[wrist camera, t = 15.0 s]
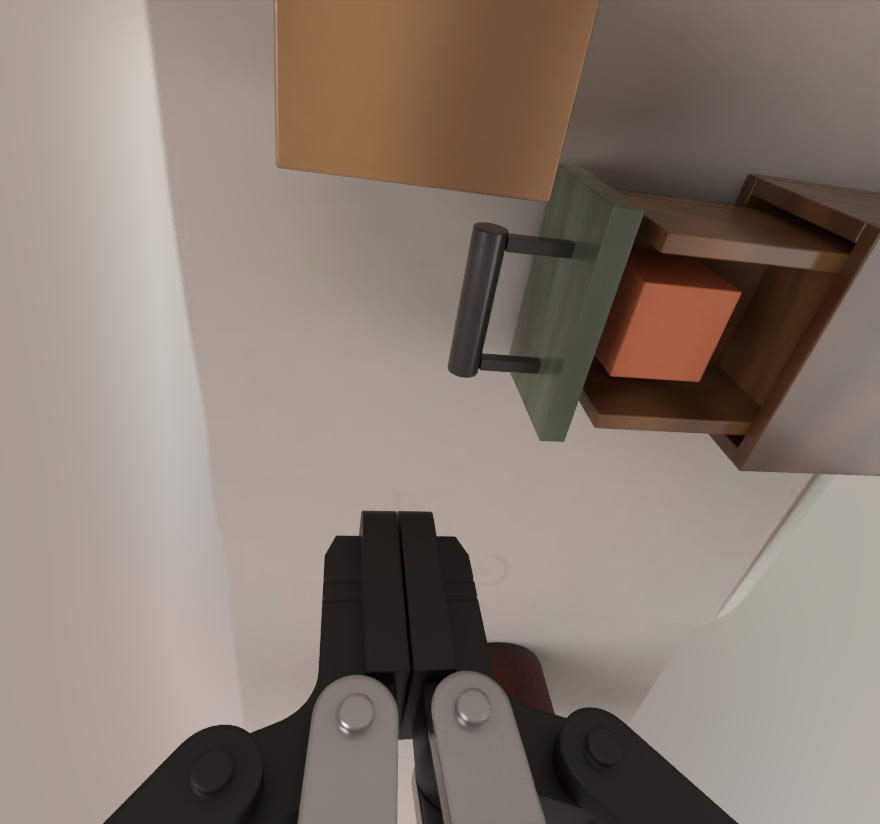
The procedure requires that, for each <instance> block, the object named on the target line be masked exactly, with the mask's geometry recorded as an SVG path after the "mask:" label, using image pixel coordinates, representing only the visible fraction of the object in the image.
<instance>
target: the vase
mask: <svg viewBox="0 0 880 824" xmlns="http://www.w3.org/2000/svg"><path fill="white" fill-rule="evenodd" d="M487 645H488V650H489V654H490V659H491V664H492V667H493V671H494V673H495V675H496V678H497V679H498V681H499V683H500V684H501V686H502V687H503V688H504V689H505V690H506V692H508V693H509V694H510V695H511V696H512V697H513V698H515V699H516V700H517V701H519V702H521V703H522V704H524V705H526V706H529V707H532V708H534V709H538V710H541V711H544V712H548V713H551V714H554V715H555V713H554V710H553V706H552V703H551V699H550V696H549V692H548V689H547V685H546V682H545V678H544V675H543V671H542V668H541V665H540V662H539V660H538V659H537V657H536V656H535V655H534V654H533V653H532V652H530V651H529V650H527V649H525V648H522V647H520V646H516V645H511V644H499V643H494V644H487Z"/></svg>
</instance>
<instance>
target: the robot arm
mask: <svg viewBox="0 0 880 824" xmlns="http://www.w3.org/2000/svg"><path fill="white" fill-rule="evenodd" d="M398 739H399V740H402V739H413V748H414V760H415V767H414V770H413V774H412V791H413V798H414V805H415V812H416V819H417V824H738V823H737V822H736V821H735V820H733V819H732V818H731V817H730V816H729V815H728V814H727V813H725V812H724V811H723V810H722V809H721V808H720V807H719V806H718V805H716V804H715V803H714V802H713V801H712V800H711V799H710V798H709V797H707V796H706V795H705V794H704V793H703V792H702V791H701V790H699V789H698V788H697V787H696V786H695V785H694V784H693V783H692V782H691V781H689V780H688V779H687V778H686V777H685V776H684V775H682V774H681V773H680V772H679V771H678V770H677V769H676V768H675V767H674V766H672V765H671V764H670V763H669V762H668V761H667V760H666V759H664V758H663V757H662V756H661V755H660V754H659V753H658V752H657V751H655V750H654V749H653V748H652V747H651V746H650V745H649V744H648V743H646V742H645V741H644V740H643V739H642V738H641V737H640V736H639V735H637V734H636V733H635V732H634V731H633V730H632V729H631V728H629V727H628V726H627V725H626V724H625V723H624V722H623V721H621V720H620V719H619V718H618V717H616V716H615V715H613V714H611V713H610V712H607V711H605V710H602V709H598V708H591V707H588V708H582V709H578V710H576V711H574V712H573V713H571V714H570V715H569V716H568V717H567V718H564V717H561V716H558V715H554V714H551V713H548V712H544V711H541V710H538V709H534V708H532V707H529V706H526V705H524V704H522V703H521V702H519V701H517V700H516V699H515V698H513V697H512V696H511V695H510V694H509V693H508V692H506V690H505V689H504V688H503V687H502V686H501V684H500V683H499V681H498V679H497V678H496V675H495V673H494V671H493V667H492V664H491V659H490V654H489V650H488V645H487V640H486V635H485V631H484V626H483V621H482V616H481V612H480V607H479V602H478V599H477V593H476V588H475V583H474V581H473V574H472V569H471V564H470V560H469V555H468V554H467V552H466V551H465V550H464V548H463V547H462V545H461V544H460V543H459V541H458V540H457V538H456V537H447V536H436V531H435V525H434V518H433V514H432V512H419V511H398V512H397V514H396V511H362V513H361V522H360V532H359V536H336V537H335V539H334V541H333V542H332V544H331V546H330V548H329V549H328V551H327V553H326V554H325V563H324V582H323V601H322V620H321V638H320V657H319V673H318V679H317V683H316V686H315V688H314V690H313V692H312V694H311V696H310V697H309V699H308V700H307V701H306V703H305V704H304V705H303V706H302V707H301V708H300V709H299V710H298V711H296V712H295V713H294V714H292V715H291V716H289V717H288V718H286V719H284V720H282V721H280V722H277V723H275V724H272V725H270V726H267V727H264V728H262V729H259V730H257V731H254V732H252V733H249V732H247V731H246V730H244V729H242V728H240V727H237V726H232V725H217V726H211V727H208V728H206V729H203V730H201V731H199V732H197V733H195V734H194V735H192V736H191V737H189V738H188V739H187V740H185V741H184V742H183V743H182V744H181V745H180V746H179V747H178V748H177V749H176V750H175V751H174V752H173V753H172V754H171V755H170V756H169V757H168V758H167V759H166V760H165V761H164V762H163V763H162V764H161V765H160V766H159V767H158V768H157V769H156V770H155V771H154V772H153V773H152V775H150V776H149V777H148V778H147V780H145V781H144V783H143V784H142V785H141V786H140V787H139V788H138V789H137V790H136V791H135V792H134V793H133V794H132V795H131V796H130V797H129V798H128V799H127V800H126V801H125V802H124V803H123V804H122V805H121V806H120V807H119V808H118V809H117V810H116V811H115V812H114V813H113V814H112V815H111V816H110V817H109V818H108V819H107V820H106V821H105V822H104V823H103V824H397V789H398Z"/></svg>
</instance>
